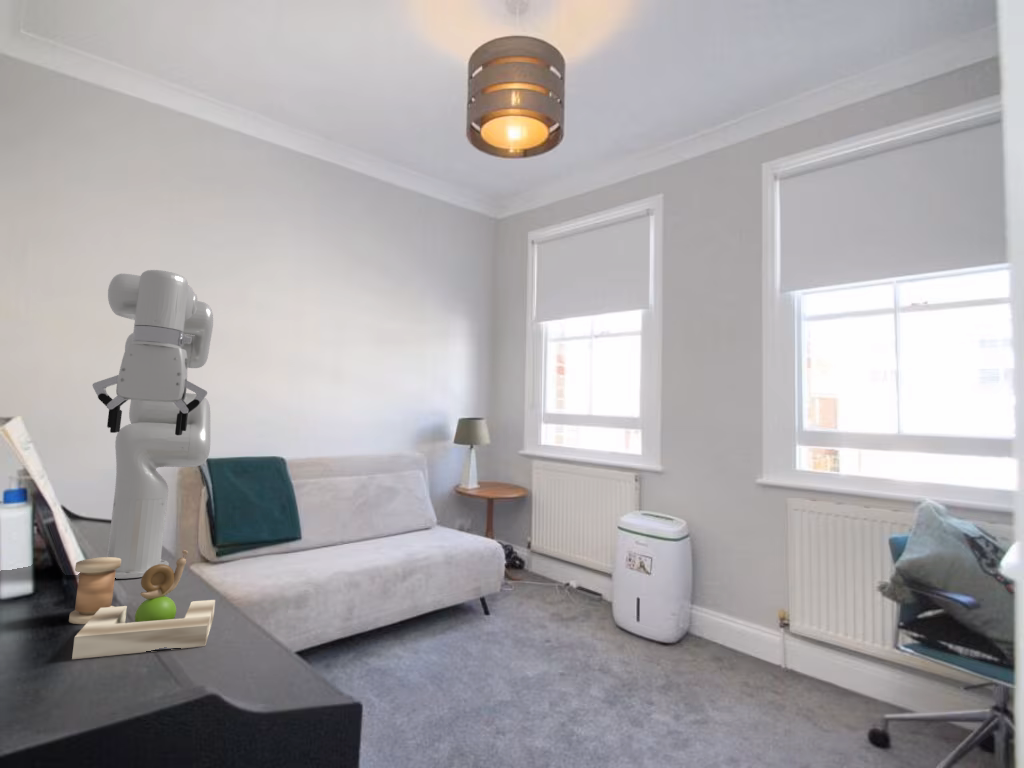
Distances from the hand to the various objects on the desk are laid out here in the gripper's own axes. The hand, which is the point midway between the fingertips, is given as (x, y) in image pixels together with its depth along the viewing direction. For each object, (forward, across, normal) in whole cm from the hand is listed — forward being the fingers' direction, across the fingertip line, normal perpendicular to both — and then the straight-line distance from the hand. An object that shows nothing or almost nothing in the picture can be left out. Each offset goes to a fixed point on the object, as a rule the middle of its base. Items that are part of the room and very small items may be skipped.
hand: (147, 433), depth 95 cm
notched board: (+30, -6, +15) cm, 34 cm away
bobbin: (+30, +4, +4) cm, 31 cm away
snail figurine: (+31, -7, +13) cm, 34 cm away
